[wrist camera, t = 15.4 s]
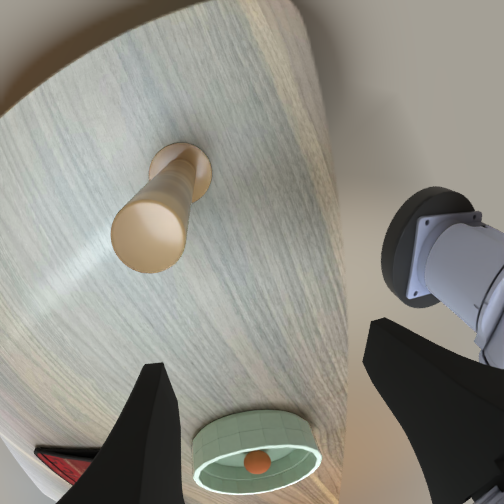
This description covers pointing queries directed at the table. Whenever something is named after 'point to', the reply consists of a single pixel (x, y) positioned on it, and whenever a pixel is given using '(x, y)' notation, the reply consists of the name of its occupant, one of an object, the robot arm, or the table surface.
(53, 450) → the notebook
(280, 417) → the mixing bowl
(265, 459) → the ball
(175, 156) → the stick
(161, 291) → the table surface
